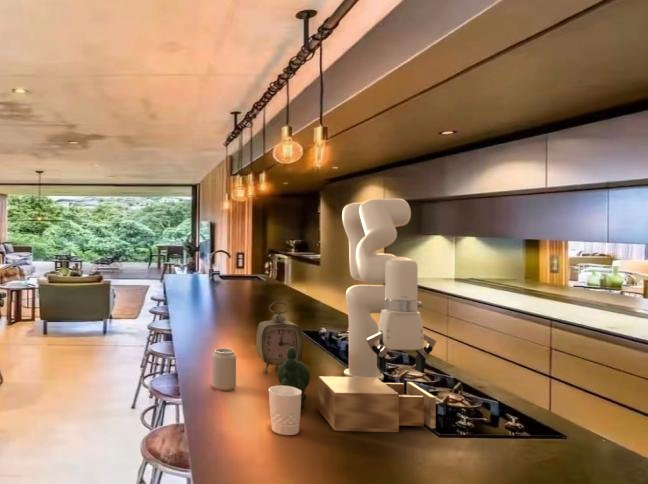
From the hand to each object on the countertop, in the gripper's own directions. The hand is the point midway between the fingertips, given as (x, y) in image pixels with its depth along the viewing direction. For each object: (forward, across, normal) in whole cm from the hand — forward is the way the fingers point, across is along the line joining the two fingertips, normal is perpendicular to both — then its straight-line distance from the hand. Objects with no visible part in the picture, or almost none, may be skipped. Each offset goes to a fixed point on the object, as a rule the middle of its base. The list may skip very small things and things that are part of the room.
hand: (400, 371), depth 125 cm
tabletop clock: (+13, +22, -45) cm, 52 cm away
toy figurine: (+13, +25, -13) cm, 31 cm away
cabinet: (+13, +11, 0) cm, 18 cm away
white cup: (+13, +32, +7) cm, 35 cm away
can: (+13, +43, -25) cm, 52 cm away
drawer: (+12, 0, 0) cm, 12 cm away
